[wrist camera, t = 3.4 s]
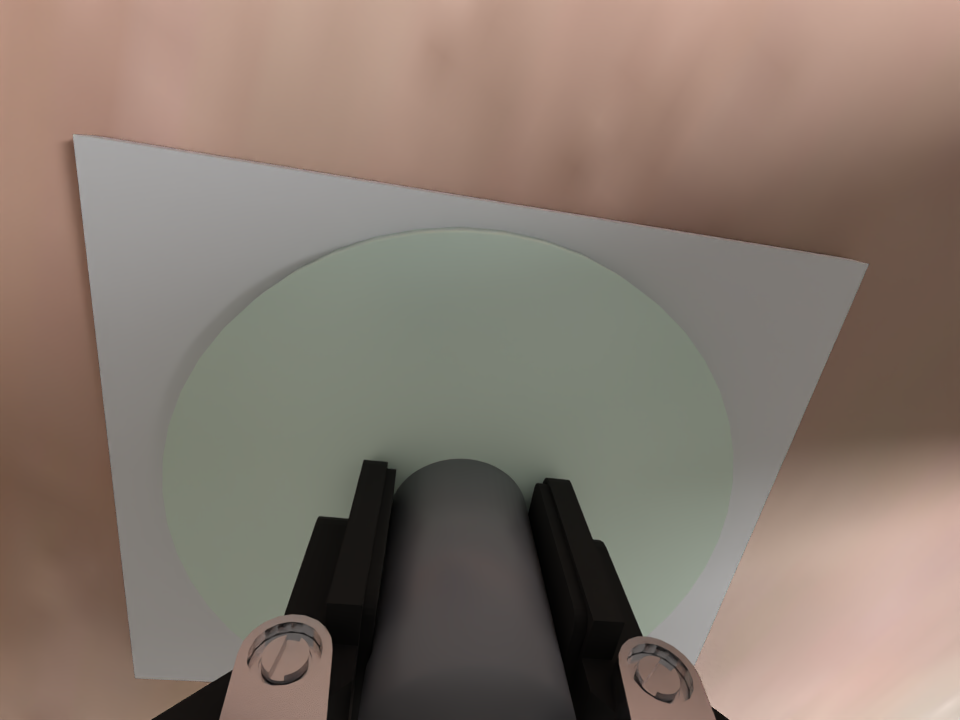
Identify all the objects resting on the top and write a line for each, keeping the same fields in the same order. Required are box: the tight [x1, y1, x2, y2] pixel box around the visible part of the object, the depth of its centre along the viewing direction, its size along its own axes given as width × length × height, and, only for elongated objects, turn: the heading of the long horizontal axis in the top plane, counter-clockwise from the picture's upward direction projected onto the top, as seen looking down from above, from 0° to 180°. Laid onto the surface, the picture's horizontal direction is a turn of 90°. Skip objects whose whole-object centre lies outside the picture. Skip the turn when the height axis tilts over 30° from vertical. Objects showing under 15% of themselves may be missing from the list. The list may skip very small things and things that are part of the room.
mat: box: [73, 134, 869, 682], centre depth 13 cm, size 16×14×1 cm
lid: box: [162, 227, 733, 720], centre depth 10 cm, size 13×13×6 cm
